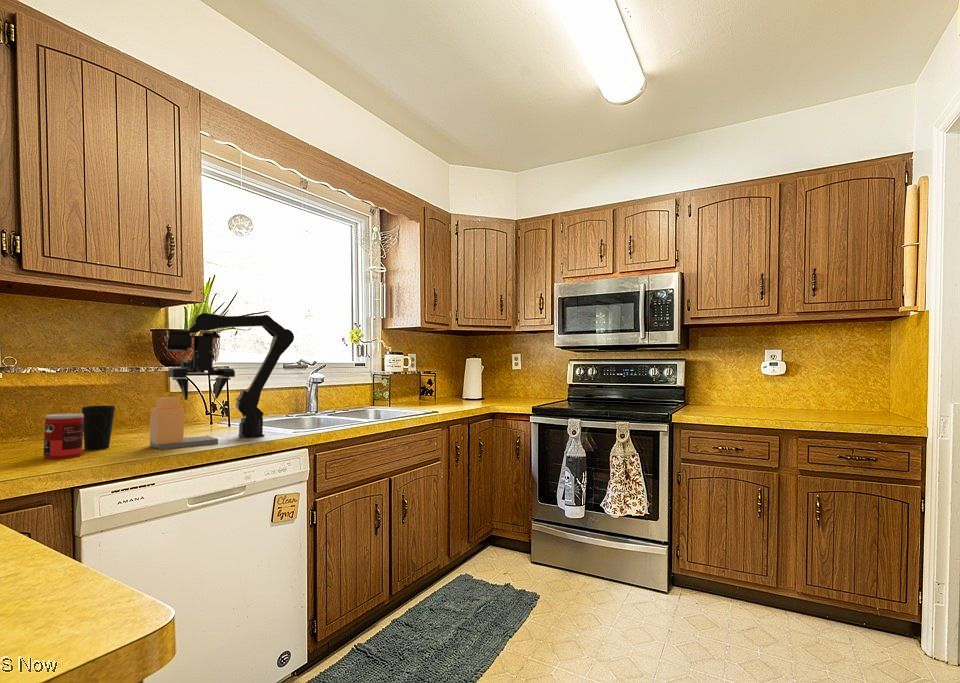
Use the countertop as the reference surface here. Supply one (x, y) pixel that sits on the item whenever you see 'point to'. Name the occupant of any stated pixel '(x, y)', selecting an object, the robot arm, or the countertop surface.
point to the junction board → (187, 442)
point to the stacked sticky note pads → (167, 421)
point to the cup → (97, 426)
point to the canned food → (63, 435)
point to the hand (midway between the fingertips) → (201, 399)
